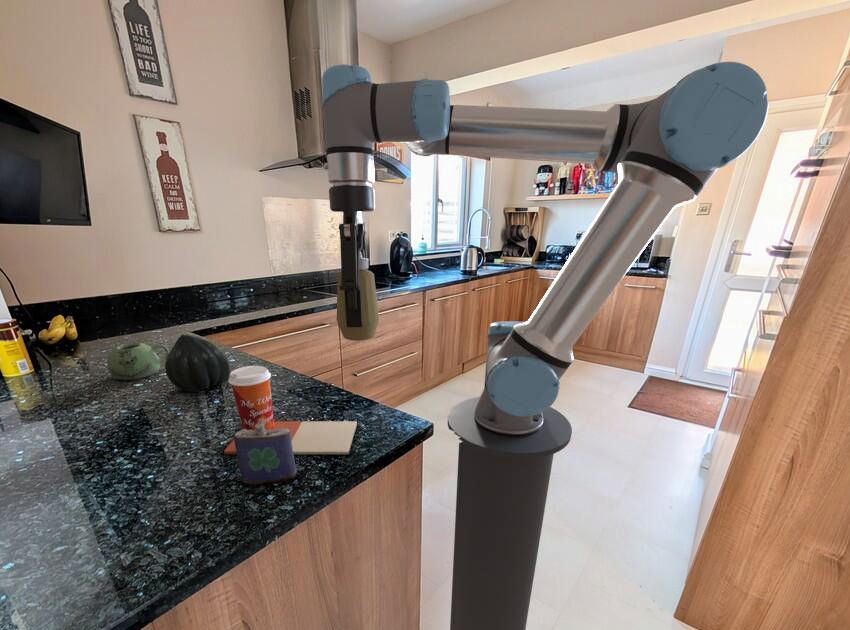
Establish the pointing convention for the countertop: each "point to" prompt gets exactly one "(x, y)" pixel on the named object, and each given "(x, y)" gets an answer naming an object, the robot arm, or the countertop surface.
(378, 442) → the countertop surface
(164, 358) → the mug
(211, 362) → the squash
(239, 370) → the paper cup
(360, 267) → the squeeze bottle
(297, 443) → the board
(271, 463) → the flask
